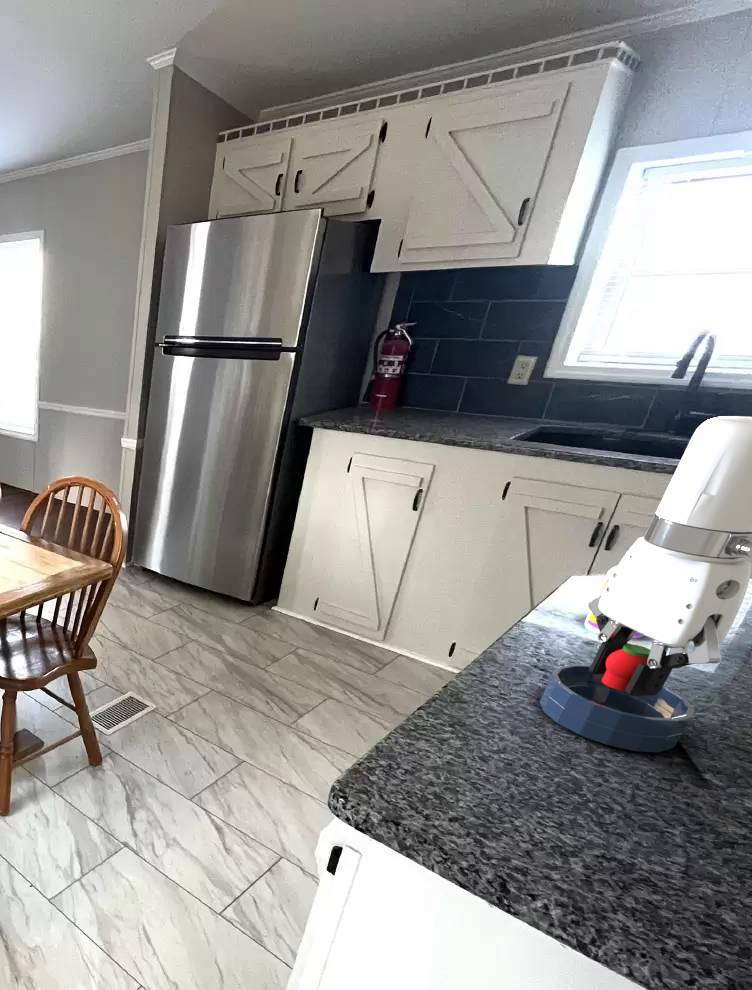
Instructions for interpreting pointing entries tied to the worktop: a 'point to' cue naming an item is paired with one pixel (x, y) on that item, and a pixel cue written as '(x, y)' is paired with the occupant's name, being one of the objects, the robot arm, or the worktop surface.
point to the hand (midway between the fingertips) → (621, 681)
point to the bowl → (614, 711)
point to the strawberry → (624, 665)
